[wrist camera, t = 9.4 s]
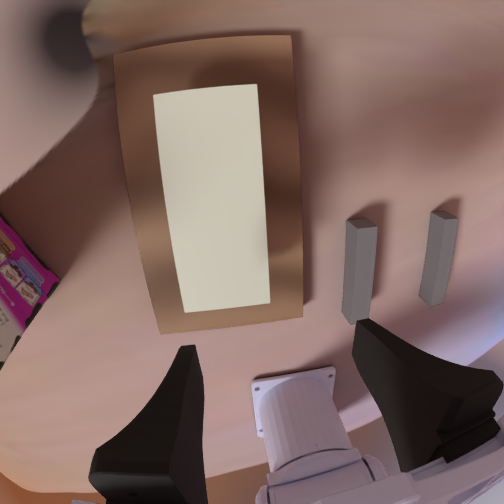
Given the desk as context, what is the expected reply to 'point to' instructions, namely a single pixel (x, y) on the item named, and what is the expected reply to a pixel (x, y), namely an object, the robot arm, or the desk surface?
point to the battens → (363, 263)
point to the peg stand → (273, 159)
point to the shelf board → (214, 194)
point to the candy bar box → (20, 288)
